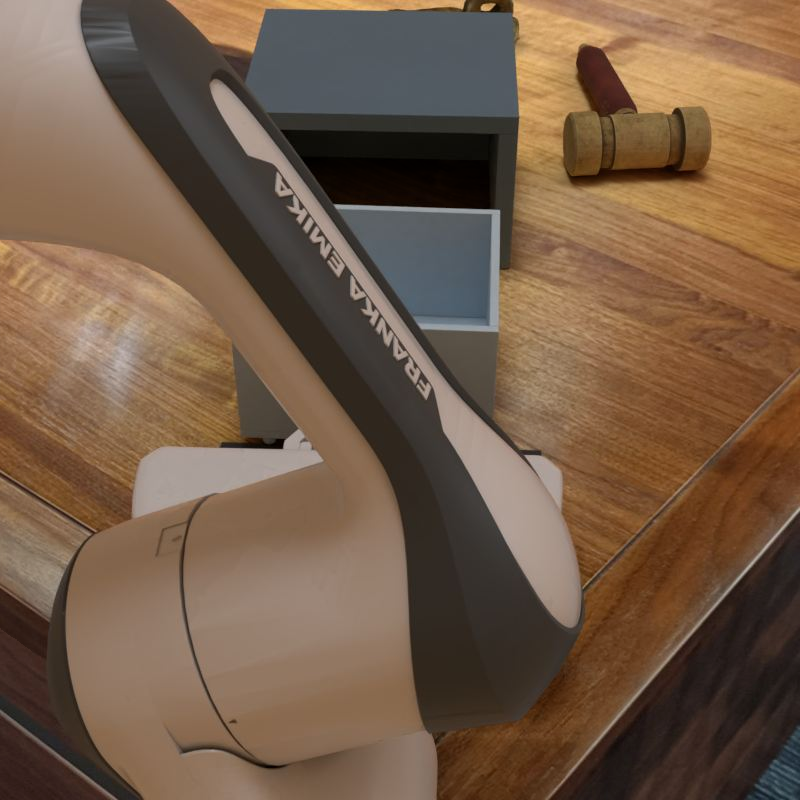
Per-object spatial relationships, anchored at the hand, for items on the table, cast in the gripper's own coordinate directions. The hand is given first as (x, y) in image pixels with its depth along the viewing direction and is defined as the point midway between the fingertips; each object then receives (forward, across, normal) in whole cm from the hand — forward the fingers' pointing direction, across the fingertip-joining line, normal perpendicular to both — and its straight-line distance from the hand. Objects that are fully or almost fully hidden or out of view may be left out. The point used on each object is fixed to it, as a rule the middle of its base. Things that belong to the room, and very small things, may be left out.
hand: (358, 413), depth 69 cm
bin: (+7, 0, +6) cm, 9 cm away
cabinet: (+30, 0, +6) cm, 31 cm away
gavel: (+44, -17, +6) cm, 48 cm away
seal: (+57, -3, +6) cm, 57 cm away
